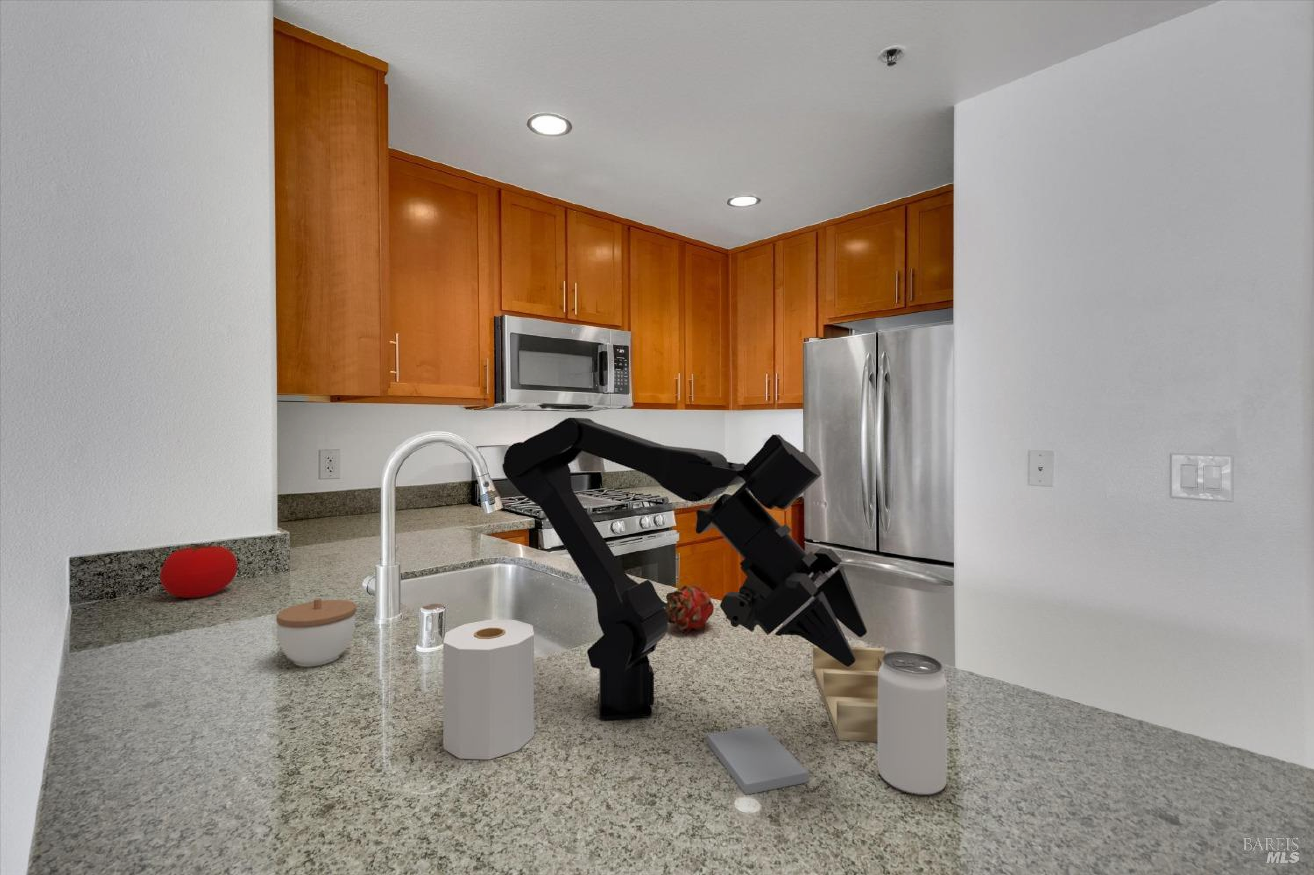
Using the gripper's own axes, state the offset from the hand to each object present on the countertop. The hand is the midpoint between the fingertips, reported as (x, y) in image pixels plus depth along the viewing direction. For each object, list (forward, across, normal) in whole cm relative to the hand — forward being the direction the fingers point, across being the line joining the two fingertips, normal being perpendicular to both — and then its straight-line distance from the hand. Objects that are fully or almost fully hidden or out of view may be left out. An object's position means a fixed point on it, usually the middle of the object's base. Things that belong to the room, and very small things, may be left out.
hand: (858, 648), depth 62 cm
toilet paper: (-19, +13, -36) cm, 43 cm away
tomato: (-88, -4, -104) cm, 137 cm away
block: (+2, +4, -16) cm, 17 cm away
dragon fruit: (-15, -32, -32) cm, 48 cm away
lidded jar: (-47, +7, -65) cm, 80 cm away
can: (+13, 0, -5) cm, 14 cm away
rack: (+8, -15, -10) cm, 19 cm away
